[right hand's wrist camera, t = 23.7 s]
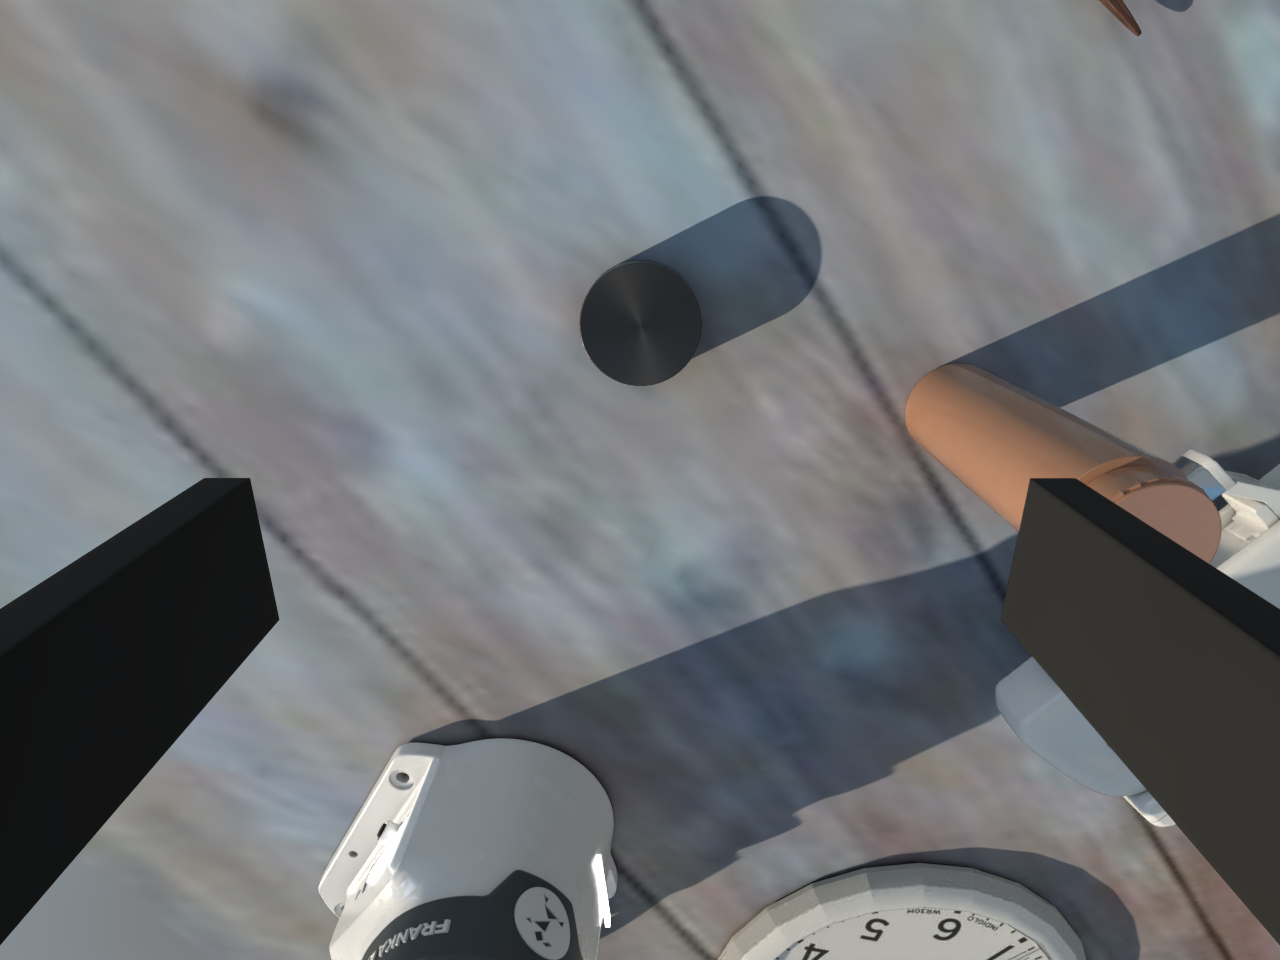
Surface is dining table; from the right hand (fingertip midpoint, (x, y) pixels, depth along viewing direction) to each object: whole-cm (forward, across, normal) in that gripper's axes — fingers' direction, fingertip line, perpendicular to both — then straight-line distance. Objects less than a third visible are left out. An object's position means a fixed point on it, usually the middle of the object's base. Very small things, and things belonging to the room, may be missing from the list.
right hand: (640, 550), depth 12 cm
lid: (+26, 0, 0) cm, 26 cm away
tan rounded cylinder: (+27, +17, -5) cm, 33 cm away
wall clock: (+27, +20, -54) cm, 63 cm away
